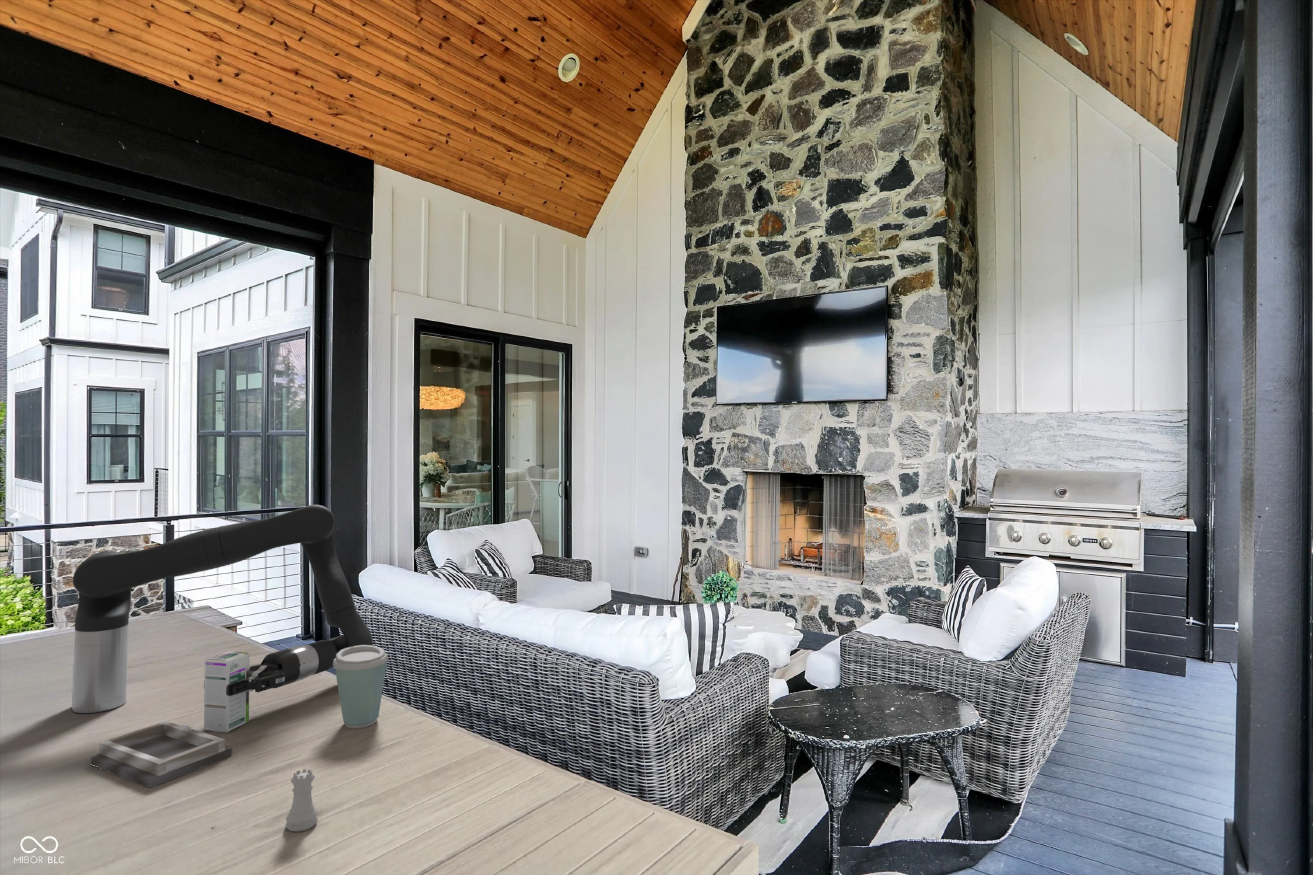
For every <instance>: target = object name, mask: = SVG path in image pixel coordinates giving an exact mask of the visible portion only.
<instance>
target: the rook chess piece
mask: <svg viewBox="0 0 1313 875" xmlns="http://www.w3.org/2000/svg"><path fill="white" fill-rule="evenodd" d="M315 777H316V776H315V775H314V774H313V770H312V769H310V768H309V769H308V770H307V768H303V769H302V772H301V770H300V769H299V770H296V772H294V773H293V777H292V778H291V780H290V782H291V784H292V785H293V789H292V792H293V799H292V804H291V807H290V809H289V812H288V813H287V816H286V818H285V820H286V822H285V827H286V829H287V831H289V832H291V833H293V832H294V833H299V832H300V833H301V832H304V831H307V830H309V829H311V828H313V827H314V826H315V825H316V824H317V822H318V820H319V818H318V811H317V809H316V807H315V805H314V803H313V797H312V790H313V788H314V787H313V785H312V783H313V781H314V779H315Z"/></svg>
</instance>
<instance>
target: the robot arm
mask: <svg viewBox="0 0 1313 875" xmlns="http://www.w3.org/2000/svg"><path fill="white" fill-rule="evenodd" d="M335 524H336V519H335V515H334V513H333V512H332V511H331V510H330V509H329V508H328V507H326V506H324V505H320V504H308V505H306V506H303V507H300V508H297V509H294V510H290V511H288V512H284V513H281V514H278V515H275V516H271V517H267V518H263V519H256V520H248V521H243V522H237V523H232V524H226V525H221V526H216V527H211V528H207V529H204V530H199V531H196V532H192V533H189V534H186V535H185V534H184V535H181V536H180V537H177V538H175V539H172V540H168V541H166V542H163V543H161V544H159V545H156V546H152V547H149V548H146V549H140V550H134V551H130V552H122V553H120V552H118V551H113V550H103V551H99V552H96V553H94V554H92V555H90V556H89V557H87V558H86V559H85V560H83V561H82V562H81V563H80V564H79V565H78V566H77V568H76V569H75V571H74V574H73V577H72V584H73V588H74V589H75V590H76V591H77V592H78V604H77V610H76V613H75V614H76V615H75V618H74V640H73V642H74V643H73V644H74V646H73V665H72V691H71V692H72V693H71V694H72V696H71V707H72V708H71V711H72V712H74V713H77V714H92V713H99V712H100V713H101V712H104V711H105V712H106V711H109V710H113V709H115V708H118V707H120V706H123V705H124V704H125V703H127V686H128V685H127V684H128V657H129V656H128V655H129V654H128V652H129V649H128V648H129V622H130V621H129V619H130V611H131V605H132V604H131V603H132V602H131V601H132V589H133V588H136V587H140V586H142V585H145V584H148V583H152V582H156V581H159V580H164V579H165V580H166V579H170V578H176V577H180V576H187V575H191V574H196V573H201V572H206V571H210V570H214V569H218V568H221V567H227V566H230V565H233V564H236V563H240V562H242V561H243V562H244V561H245V560H247V559H250V558H253V557H256V556H258V555H260V554H262V553H265V552H267V551H271V550H273V549H276V548H280V547H285V546H290V545H296V544H300V545H301V546H302V548H303V550H304V552H305V554H306V556H307V558H308V562H309V564H310V566H311V570H312V573H313V576H314V581H315V584H316V588H317V593H318V594H317V595H318V598H319V600H320V603H321V604H320V605H321V608H322V611H323V614H324V617H325V618H324V619H325V621H326V623H327V625H328V626H329V627H333V628H334V627H335V628H338V629H339V630H340V631H341V633H342V635H338V636H336V637H333V638H330V639H327V640H320V641H315V642H311V643H308V644H305V645H304V644H303V645H297V646H293V647H288V648H285V649H282V650H279V651H274V652H270V653H269V654H267V655H266V656H264V658H263V659H262V661H261V663H253V664H249V678H248V679H247V681H246V680H242V681H238V682H235V683H232V684H228V685H227V687H226V695H227V696H232V695H235V694H239V693H242V692H245V691H246V690H247V692H249V693H250V692H253V691H254V693H261V692H264V691H268V690H272V689H278V688H281V687H284V686H287V685H290V684H293V683H296V682H299V681H302V680H305V679H307V678H309V677H311V676H314V675H317V674H320V673H324V672H326V671H329V670H330V669H332V668H333V669H335V668H334V666H333V660H334V659H335V658H336V654H337V653H338V652H339V651H340V650H342V649H345V648H348V647H353V646H359V645H372V646H374V640H373V635H372V633H371V631H370V629H369V627H368V626H367V624H366V623H365V622H364V619H363V618H362V616H361V615H360V613H358V610H357V606H356V605H355V601H354V598H353V594H352V592H351V589H350V586H349V583H348V580H347V579H346V578H347V577H346V575H345V573H344V570H343V569H342V566H341V564H340V561H339V559H338V555H337V552H336V551H337V550H336V546H335V540H334V528H335Z"/></svg>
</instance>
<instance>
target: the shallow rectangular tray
mask: <svg viewBox="0 0 1313 875" xmlns="http://www.w3.org/2000/svg"><path fill="white" fill-rule="evenodd" d="M98 745H99V747H98V748H99V749H98V754H95V755H91V756H90V765H91V764H92V765H95V766H98V767H99V768H101V769H100V770H102V769H104V770H103V771H105V770H107V771H109V772H108V773H110V772H111V773H110V774H112V773H114V774H113V775H115V774H116V775H115V776H118V777H120V776H121V777H120V778H123V779H125V780H128V781H131V782H133V783H135V784H138V785H139V786H140V785H141V786H143V787H146V788H148V789H152V788H154V787H156V786H159V785H162V784H165V783H167V782H169V781H172V780H174V779H177V778H179V777H182V776H184V775H187V774H189V773H191V772H194V771H197V770H199V769H201V768H205V767H207V766H209V765H211V764H212V765H213V764H215V763H217V762H221V761H222V760H225V759H227V758H230V757H232V756H233V748H232V746H228V745H226V738H223V737H218V736H215V735H212V734H209V733H206V732H203V731H200V730H197V729H193V728H190V727H187V726H183V725H180V724H177V723H174V722H171V721H167V720H166V721H162V722H159V723H156V724H152V725H150V726H147V727H143V728H140V729H138V730H135V731H131V732H129V733H125V734H122V735H119V736H116V737H113V738H109V739H106V740H103V741H101V742H99V744H98ZM231 755H232V756H231ZM229 756H230V757H229ZM92 765H91V766H92ZM99 768H98V769H99ZM107 771H106V772H107Z"/></svg>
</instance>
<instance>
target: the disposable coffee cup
mask: <svg viewBox="0 0 1313 875" xmlns="http://www.w3.org/2000/svg"><path fill="white" fill-rule="evenodd" d="M388 660H389V659H388V654H387V653H386V652H385V650H384V649H383V648H382V647H379V646H376V645H373V646H372V645H359V646H353V647H348V648H345V649H342V650H340V651H339V652H338V653H337V654H336V658H335V659H334V660H333V666H334V668H333V669H334V670H335V677H336V683H337V690H338V695H339V696H338V697H339V701H340V708H341V715H342V721H343V724H344V726H345V725H346V726H345V727H346V728H349V729H361V728H362V729H363V728H367V727H369V726H372V725H374V724H376V722H377V721H378V718H379V716H380V708H381V702H382V695H383V689H384V682H385V676H386V671H387V670H386V669H387V664H388V663H387V662H388Z"/></svg>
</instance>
